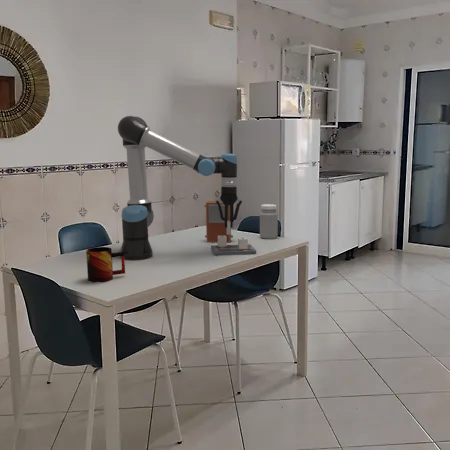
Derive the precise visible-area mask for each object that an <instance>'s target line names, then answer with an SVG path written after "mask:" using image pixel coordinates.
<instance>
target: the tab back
mask: <svg viewBox="0 0 450 450" xmlns="http://www.w3.org/2000/svg"><path fill="white" fill-rule="evenodd" d="M217 245H218V247H227V245H228V242H227V237H226V235H225V236H222V235H221V236H218V242H217Z"/></svg>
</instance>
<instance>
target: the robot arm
mask: <svg viewBox="0 0 450 450" xmlns="http://www.w3.org/2000/svg"><path fill="white" fill-rule="evenodd" d="M117 132H118V135H119V136H120V138H121V140H122V146H123V147H124V148H125V150H126V161H127V176H128V187H129V188H128V191H129V200H128V201H127V202H126V206H124V208H122V211H121V224H122V244H121V247H120V252H124V261H125V260H126V261H127V260H128V261H140V260H145V259H150V258H152V257H153V255H154V253H153V252H154V251H153V248H152V245H151V243H150V241H149V227H150V226H151V225H152V223H153V221H154V218H155V215H154V210H153V209H152V200H151V199H149V195H148V181H147V178H148V177H147V166H146V151H145V150H146V149H145V148H146V147H147V148H149V149H151V151H155V152H156V153H159V154H161V155H163V156H165V157H167V158H169V159H171V160H173V161H175V162H177V163H180V164H181V165H183V166H185V167H187V168H189V169H191V170H193V171H195V172H196V173H197V174H200V175H202V176H204V177H208V176H212V175H213V174H214V175H215V174H217V175H218V174H219V175H220V174H221V176H220V178H221V179H220V180H221V181H220V182H221V183H220V186H221V187H220V196H219V199H217V200H215V201H216V203H217V205H218V208H219V213H220V217H221V219H222V220H224V221H225V225H224V226H225V228H227V235H230V228H231V229H232V228H233V225H234V223H233V221H236V220H237V219H238V214H239V211H240V206H241V205H242V203H243V201H242V199H240V198H238V195H237V194H238V193H237V192H238V191H237V190H238V189H237V185H238V156H237V154H235V153H222V154H221V156H220V157H207V156H204V155H201V154H200V153H198V152H196V151H194V150H192V149H190V148H187V147H186V146H184V145H182V144H179V143H178V142H176V141H173V140H171V139H170V138H167V137H165V136H163V135H161V134H159V133H157V132H156V131H153V130H152V129H151V128H150V126H148V125H147V122H146V120H144V119H143V118H141V117H139V116H135V115H134V116H133V115H127V116H124V117H123V118H121V119H120V120H119V121H118V125H117ZM221 201H222V202H223V204H224V206H225V214H224V217H223V213H222V209H221V205H220V203H221ZM235 203H236V207H235V210H234V204H235ZM228 205H230V221H227V220H228ZM119 258H120V259H121V257H119Z"/></svg>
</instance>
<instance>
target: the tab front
mask: <svg viewBox="0 0 450 450" xmlns="http://www.w3.org/2000/svg"><path fill="white" fill-rule="evenodd" d="M248 244H249V243H248V238H247V237H237V245H238V248H239V250H240V249H248Z"/></svg>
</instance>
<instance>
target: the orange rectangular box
mask: <svg viewBox="0 0 450 450" xmlns="http://www.w3.org/2000/svg"><path fill="white" fill-rule="evenodd" d="M220 205H221V209H222V213H223V217H224V214H225V206H224V204H223V202H222V201H221V203H220ZM204 208H205V224H206V225H205V226H206V227H205V228H206V229H205V230H206V231H205V233H206V234H205V235H204V238H206V243H218V236H221V235H222V236H225V235H226V237H227V243H231V242H232V238H233V237H234V235H232V228H230V235H227V228H225V226H224V225H225V221H224V220H222V219H221V217H220V213H219V208H218V205H217V203H216V200H207V201H205V204H204ZM227 221H230V205H228V220H227Z"/></svg>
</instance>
